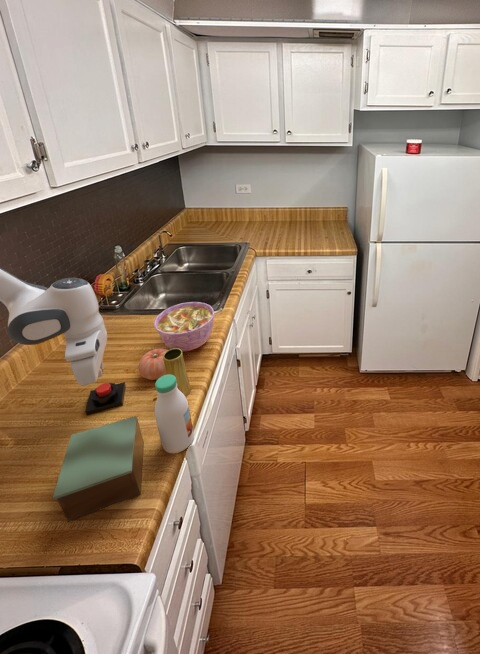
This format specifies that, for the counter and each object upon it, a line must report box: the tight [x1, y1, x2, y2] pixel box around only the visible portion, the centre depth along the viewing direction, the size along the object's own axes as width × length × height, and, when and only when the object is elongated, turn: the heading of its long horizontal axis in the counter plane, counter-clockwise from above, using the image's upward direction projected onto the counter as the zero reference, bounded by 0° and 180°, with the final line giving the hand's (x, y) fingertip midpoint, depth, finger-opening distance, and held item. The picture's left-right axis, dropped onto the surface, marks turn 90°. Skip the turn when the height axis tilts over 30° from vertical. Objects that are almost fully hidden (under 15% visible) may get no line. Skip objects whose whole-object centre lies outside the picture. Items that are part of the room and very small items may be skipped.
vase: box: [163, 348, 192, 397], centre depth 98 cm, size 6×6×14 cm
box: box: [56, 418, 145, 523], centre depth 75 cm, size 14×14×9 cm
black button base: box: [84, 381, 127, 416], centre depth 97 cm, size 9×8×4 cm
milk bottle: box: [154, 375, 195, 454], centre depth 82 cm, size 8×8×20 cm
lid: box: [52, 415, 138, 501], centre depth 73 cm, size 15×14×1 cm
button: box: [95, 382, 112, 397], centre depth 96 cm, size 4×4×2 cm
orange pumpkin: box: [137, 347, 169, 381], centre depth 106 cm, size 11×11×8 cm
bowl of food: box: [153, 301, 215, 352], centre depth 119 cm, size 20×20×12 cm
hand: (99, 374), depth 94 cm, fingers closed
